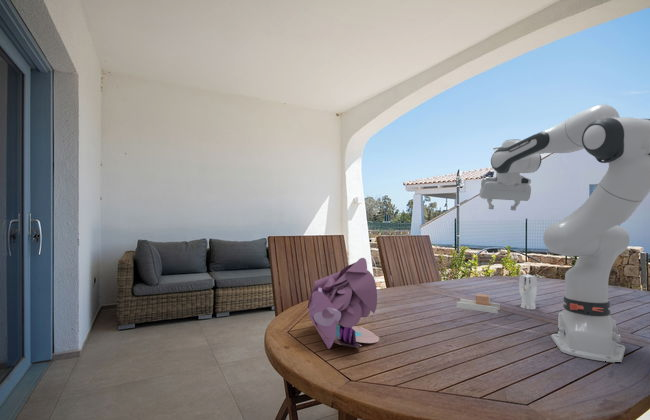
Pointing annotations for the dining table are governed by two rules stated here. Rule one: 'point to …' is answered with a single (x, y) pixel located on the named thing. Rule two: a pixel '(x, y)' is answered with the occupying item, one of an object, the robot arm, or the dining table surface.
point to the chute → (478, 306)
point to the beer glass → (528, 291)
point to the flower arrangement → (344, 305)
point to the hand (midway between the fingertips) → (501, 209)
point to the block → (483, 299)
